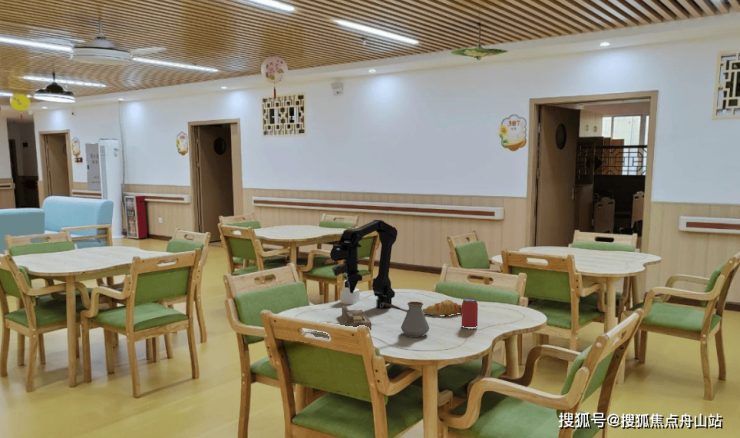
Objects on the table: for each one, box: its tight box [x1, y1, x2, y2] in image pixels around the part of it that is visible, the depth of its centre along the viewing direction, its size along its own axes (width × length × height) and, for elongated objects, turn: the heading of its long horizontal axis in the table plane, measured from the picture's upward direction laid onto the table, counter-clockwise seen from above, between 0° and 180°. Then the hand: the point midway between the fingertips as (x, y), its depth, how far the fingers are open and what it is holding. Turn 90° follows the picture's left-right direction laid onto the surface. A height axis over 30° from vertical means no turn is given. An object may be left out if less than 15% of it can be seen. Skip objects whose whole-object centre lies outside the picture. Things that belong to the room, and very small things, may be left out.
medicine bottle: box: [339, 279, 360, 305], centre depth 275 cm, size 7×7×12 cm
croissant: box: [422, 299, 462, 316], centre depth 257 cm, size 21×10×8 cm, turn 96°
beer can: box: [461, 297, 479, 327], centre depth 236 cm, size 7×7×12 cm
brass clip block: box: [353, 316, 363, 321], centre depth 238 cm, size 4×4×5 cm
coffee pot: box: [380, 301, 430, 338], centre depth 224 cm, size 21×12×15 cm, turn 115°
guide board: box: [341, 305, 372, 330], centre depth 243 cm, size 9×20×6 cm, turn 13°
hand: (351, 293), depth 248 cm, fingers closed
